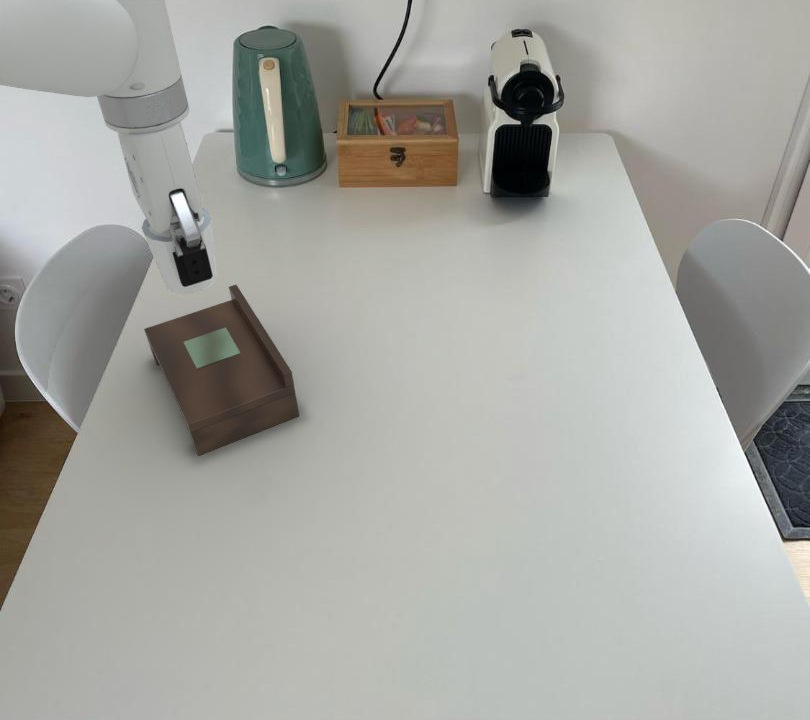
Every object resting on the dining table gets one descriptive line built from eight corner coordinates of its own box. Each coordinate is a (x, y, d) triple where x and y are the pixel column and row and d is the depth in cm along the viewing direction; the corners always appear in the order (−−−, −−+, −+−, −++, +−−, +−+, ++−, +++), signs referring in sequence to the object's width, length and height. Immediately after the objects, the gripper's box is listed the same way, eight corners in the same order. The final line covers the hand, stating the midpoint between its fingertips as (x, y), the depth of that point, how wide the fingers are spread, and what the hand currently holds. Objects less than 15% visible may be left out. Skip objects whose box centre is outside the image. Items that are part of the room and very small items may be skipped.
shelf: (198, 456, 88) (184, 411, 84) (154, 359, 100) (139, 315, 95) (299, 416, 92) (291, 371, 88) (245, 327, 104) (236, 284, 99)
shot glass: (236, 269, 87) (224, 213, 82) (193, 305, 82) (178, 248, 78) (188, 252, 89) (174, 196, 85) (144, 285, 85) (126, 229, 80)
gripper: (80, 74, 77) (130, 232, 89) (125, 151, 65) (174, 320, 78) (158, 57, 79) (196, 213, 91) (214, 128, 68) (249, 295, 80)
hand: (186, 261), depth 84 cm, fingers closed on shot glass, 6 cm apart
